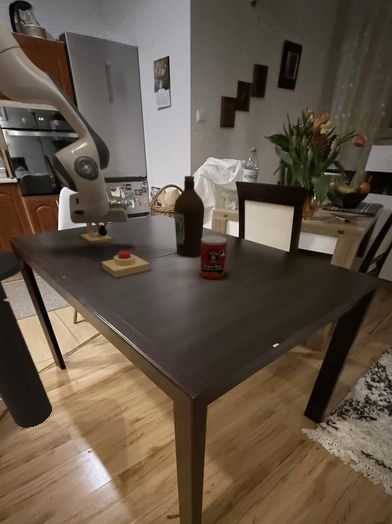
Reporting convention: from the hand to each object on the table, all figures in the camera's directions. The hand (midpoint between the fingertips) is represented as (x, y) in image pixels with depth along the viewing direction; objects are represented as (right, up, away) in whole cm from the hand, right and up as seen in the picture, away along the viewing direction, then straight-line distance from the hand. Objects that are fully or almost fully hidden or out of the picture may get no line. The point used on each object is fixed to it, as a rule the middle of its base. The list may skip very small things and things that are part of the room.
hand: (102, 226), depth 111 cm
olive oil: (+34, -12, -4) cm, 37 cm away
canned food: (+42, -25, -21) cm, 54 cm away
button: (+14, -19, -21) cm, 32 cm away
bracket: (-6, -1, +10) cm, 11 cm away
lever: (-3, +2, +4) cm, 5 cm away
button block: (+14, -22, -19) cm, 32 cm away
